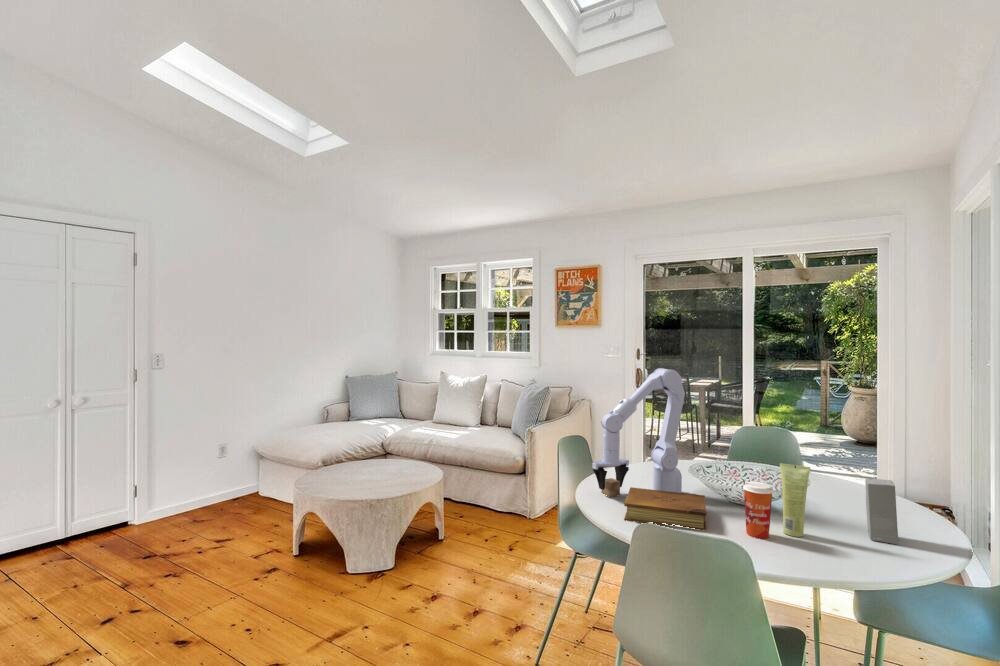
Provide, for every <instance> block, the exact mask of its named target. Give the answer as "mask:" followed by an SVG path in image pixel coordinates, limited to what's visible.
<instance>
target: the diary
mask: <svg viewBox="0 0 1000 666" xmlns="http://www.w3.org/2000/svg"><path fill="white" fill-rule="evenodd" d="M628 490H629V491H628V493H627V496H626V497H625V500H624V504H623V505H624V507H626V512H625V515H624V517H623V520H624V521H626V520H627V521H626V522H633V521H638V522H637V523H641V522H653V523H656V524H660V525H659V526H664V525H665V524H662V523H666V524H668V525H672V524H675V525H680V526H683V527H689V528H695V529H700V530H699V531H702V530H706V531H707V523H706V522H707V521H706V517H707V506H706V499H705V498H706V497H705V495H703V494H695V493H686V492H682V493H678V492H669V491H659V490H652V489H650V488H648V489H647V488H640V487H632V486H631V487H630V488H629V489H628ZM656 524H655V525H656ZM675 525H673V526H675ZM664 527H668V526H667V525H665V526H664Z"/></svg>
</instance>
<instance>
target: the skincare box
mask: <svg viewBox="0 0 1000 666" xmlns="http://www.w3.org/2000/svg"><path fill="white" fill-rule="evenodd" d="M864 481H865V484H864V485H865V506H866V507H865V508H866V521H867V533H868V536H869V540H871V541H875V542H881V543H886V544H887V543H888V544H893V545H896V546H897V545H898V546H899V531H898V513H897V495H896V485H895V483H894V482H893V480H891V479H879V478H869V477H865V480H864Z"/></svg>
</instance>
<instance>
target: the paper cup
mask: <svg viewBox="0 0 1000 666" xmlns="http://www.w3.org/2000/svg"><path fill="white" fill-rule="evenodd" d="M742 489H743V496H744V499H743V500H744V510H745V511H744V512H745V513H744V514H745V515H744V516H745V530H746V531H745V532H746V534H748V535H747V536H749V537H751V538H754V537H755V538H754V539H759V538H760V539H762V540H763V539H765V540H766V539H768V538H769V536H770V528H771V527H770V525H771V515H772V513H771V511H772V498H773V493H775V491H774V489H773V487H772V486H771V485H770V484H768V483H765V482H759V481H746V482H745V483H744V486H743V487H742ZM760 539H759V540H760Z"/></svg>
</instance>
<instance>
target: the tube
mask: <svg viewBox="0 0 1000 666" xmlns="http://www.w3.org/2000/svg"><path fill="white" fill-rule="evenodd" d="M779 468H780V469H779V471H780V476H781V477H780V478H781V491H782V522H783V524H782V525H783V527H782V529H783V530H782V531H783V533H784V534H786V535H788V536H791V537H796V538H797V537H799V538H800V537H804V531H805V529H804V528H805V515H806V503H807V502H806V501H807V494H808V493H807V492H808V483H809V476H810V472H811V467H810V466H803V465H796V464H788V463H782V462H781V463H779Z"/></svg>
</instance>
